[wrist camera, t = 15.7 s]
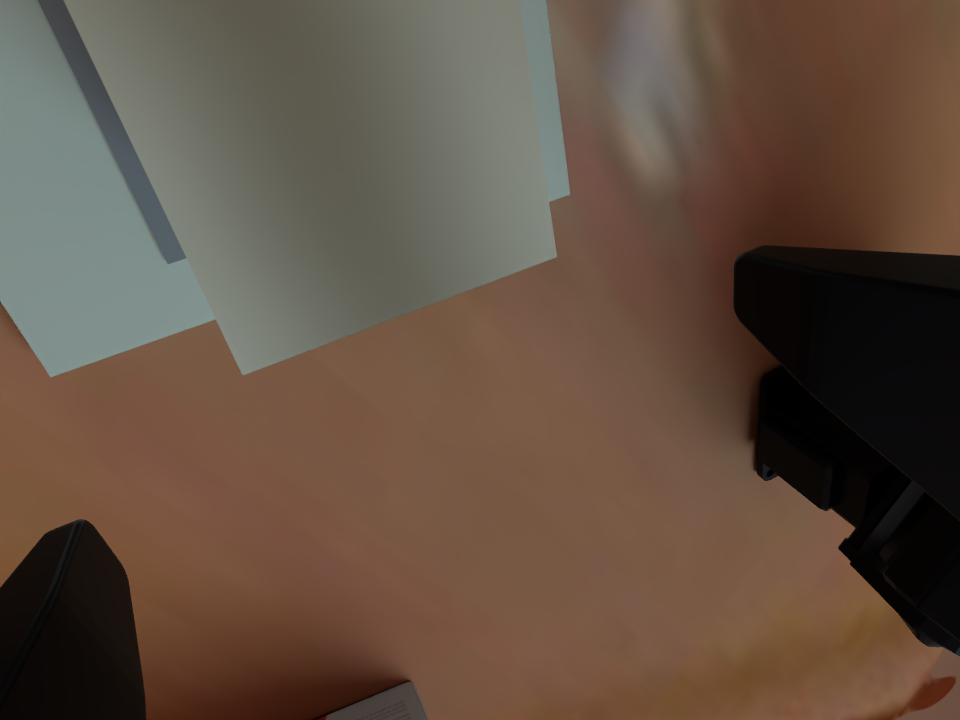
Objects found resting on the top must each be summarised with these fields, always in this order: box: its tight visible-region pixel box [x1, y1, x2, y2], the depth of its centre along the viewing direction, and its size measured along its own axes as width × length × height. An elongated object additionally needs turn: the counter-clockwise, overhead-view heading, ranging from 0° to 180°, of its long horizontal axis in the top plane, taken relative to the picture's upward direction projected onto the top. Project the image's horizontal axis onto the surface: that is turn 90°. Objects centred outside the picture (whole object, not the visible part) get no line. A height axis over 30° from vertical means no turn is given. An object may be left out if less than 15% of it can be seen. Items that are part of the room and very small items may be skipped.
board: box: [0, 0, 570, 377], centre depth 17 cm, size 16×12×1 cm
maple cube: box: [64, 0, 557, 375], centre depth 11 cm, size 5×5×5 cm
